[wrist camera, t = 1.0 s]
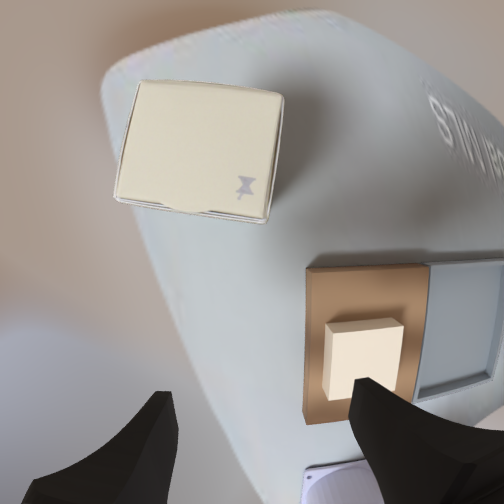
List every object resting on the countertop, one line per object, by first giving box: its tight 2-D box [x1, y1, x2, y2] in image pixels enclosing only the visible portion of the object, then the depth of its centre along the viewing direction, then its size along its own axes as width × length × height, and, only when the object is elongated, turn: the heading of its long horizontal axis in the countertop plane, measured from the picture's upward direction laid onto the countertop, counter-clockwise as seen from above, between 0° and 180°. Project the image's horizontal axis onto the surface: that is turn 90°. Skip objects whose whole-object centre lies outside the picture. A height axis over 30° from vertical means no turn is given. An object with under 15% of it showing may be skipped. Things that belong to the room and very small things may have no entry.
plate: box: [302, 263, 429, 425], centre depth 23 cm, size 12×9×2 cm
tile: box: [322, 317, 404, 401], centre depth 21 cm, size 5×5×2 cm
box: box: [113, 80, 285, 225], centre depth 16 cm, size 5×4×13 cm
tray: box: [411, 258, 504, 404], centre depth 23 cm, size 12×10×2 cm
